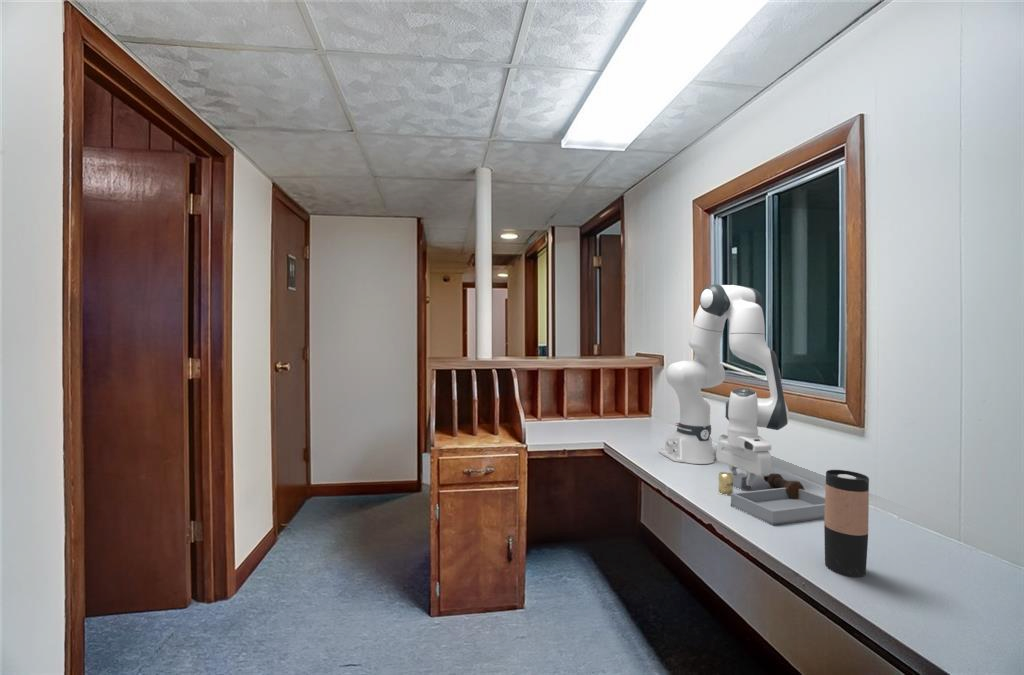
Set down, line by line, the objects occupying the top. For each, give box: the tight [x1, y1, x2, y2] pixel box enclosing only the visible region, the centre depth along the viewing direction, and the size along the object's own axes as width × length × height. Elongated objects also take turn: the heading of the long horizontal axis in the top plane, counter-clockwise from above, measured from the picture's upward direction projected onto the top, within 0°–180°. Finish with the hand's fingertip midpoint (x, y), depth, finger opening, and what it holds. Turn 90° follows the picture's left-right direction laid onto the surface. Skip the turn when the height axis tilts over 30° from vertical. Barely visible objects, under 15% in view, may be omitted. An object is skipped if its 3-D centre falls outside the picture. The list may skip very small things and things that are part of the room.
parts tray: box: [730, 488, 825, 526], centre depth 136 cm, size 15×24×4 cm, turn 108°
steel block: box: [733, 472, 752, 491], centre depth 156 cm, size 4×4×4 cm
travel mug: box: [823, 469, 870, 578], centre depth 102 cm, size 8×8×20 cm
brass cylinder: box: [718, 471, 734, 496], centre depth 150 cm, size 4×4×6 cm
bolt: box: [763, 473, 805, 499], centre depth 151 cm, size 6×5×15 cm
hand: (741, 482), depth 156 cm, fingers closed on steel block, 4 cm apart
